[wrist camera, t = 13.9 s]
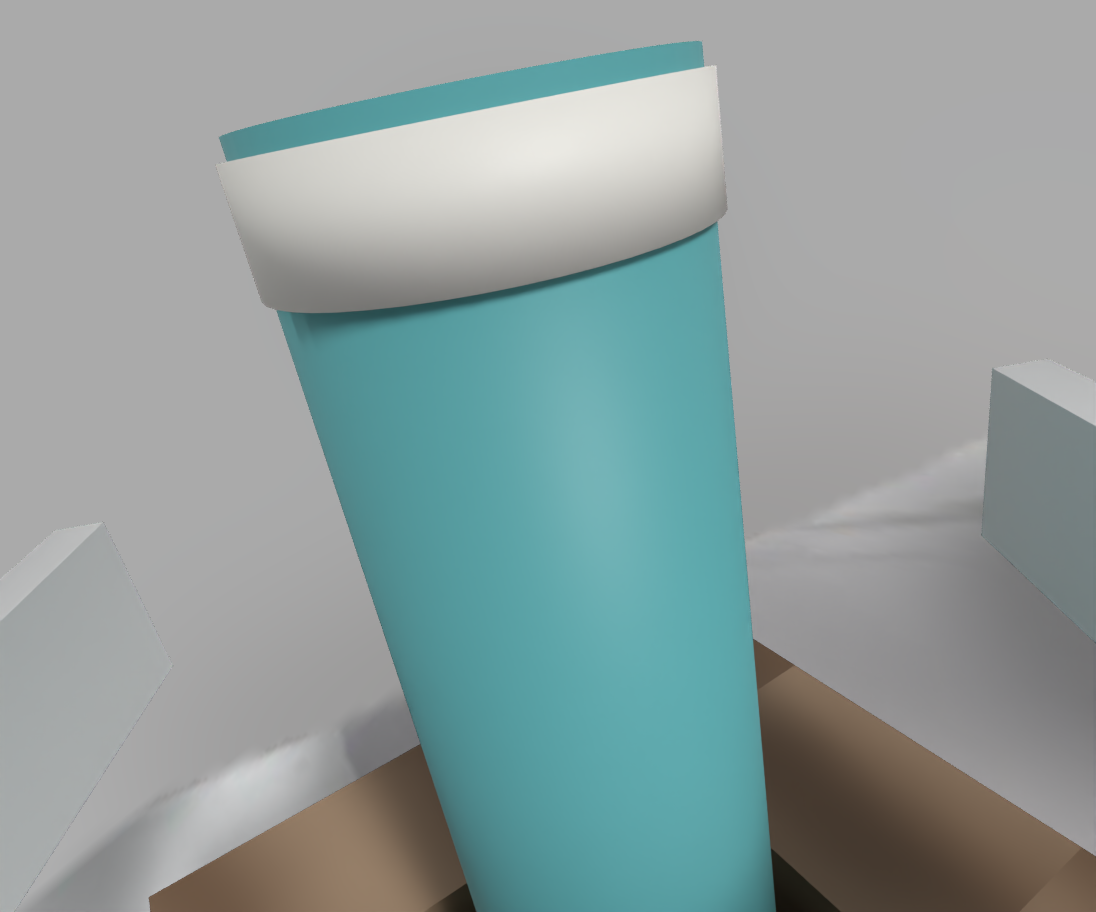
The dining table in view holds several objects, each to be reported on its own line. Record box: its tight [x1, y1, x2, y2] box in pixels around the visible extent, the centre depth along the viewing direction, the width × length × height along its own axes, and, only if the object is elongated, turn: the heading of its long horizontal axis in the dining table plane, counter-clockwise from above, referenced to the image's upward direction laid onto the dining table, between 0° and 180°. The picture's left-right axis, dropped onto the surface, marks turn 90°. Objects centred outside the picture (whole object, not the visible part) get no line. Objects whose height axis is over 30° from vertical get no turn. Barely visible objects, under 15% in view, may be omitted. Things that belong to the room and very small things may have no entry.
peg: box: [215, 41, 776, 912], centre depth 11 cm, size 5×5×18 cm
